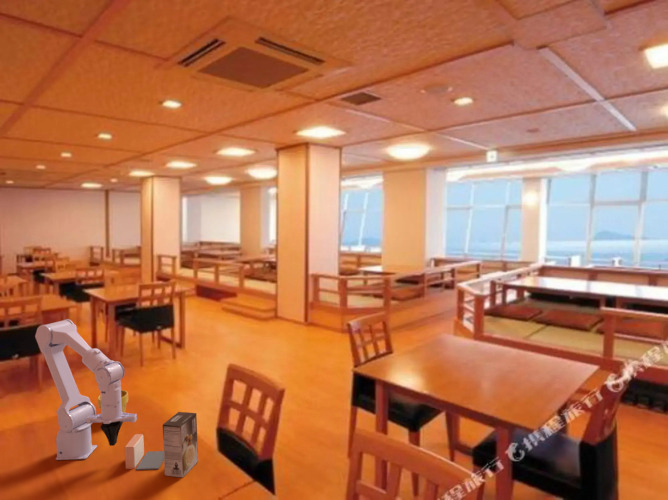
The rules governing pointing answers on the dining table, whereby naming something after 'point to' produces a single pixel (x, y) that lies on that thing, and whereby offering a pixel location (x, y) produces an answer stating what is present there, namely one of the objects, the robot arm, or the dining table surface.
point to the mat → (151, 460)
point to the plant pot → (123, 400)
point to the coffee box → (180, 444)
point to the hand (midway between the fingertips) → (113, 444)
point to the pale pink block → (134, 451)
